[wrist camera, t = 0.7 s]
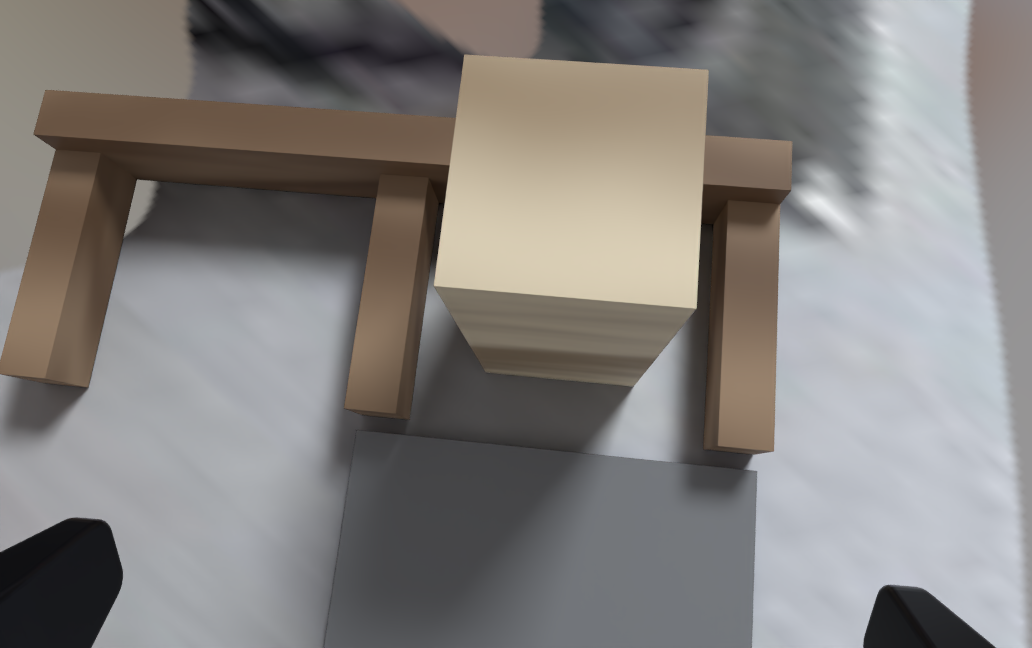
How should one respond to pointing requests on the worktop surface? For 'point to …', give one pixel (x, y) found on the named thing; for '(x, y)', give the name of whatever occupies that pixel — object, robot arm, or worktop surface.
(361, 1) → the worktop surface
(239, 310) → the worktop surface
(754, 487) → the rubber mat
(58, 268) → the lane rack
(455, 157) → the beech block
